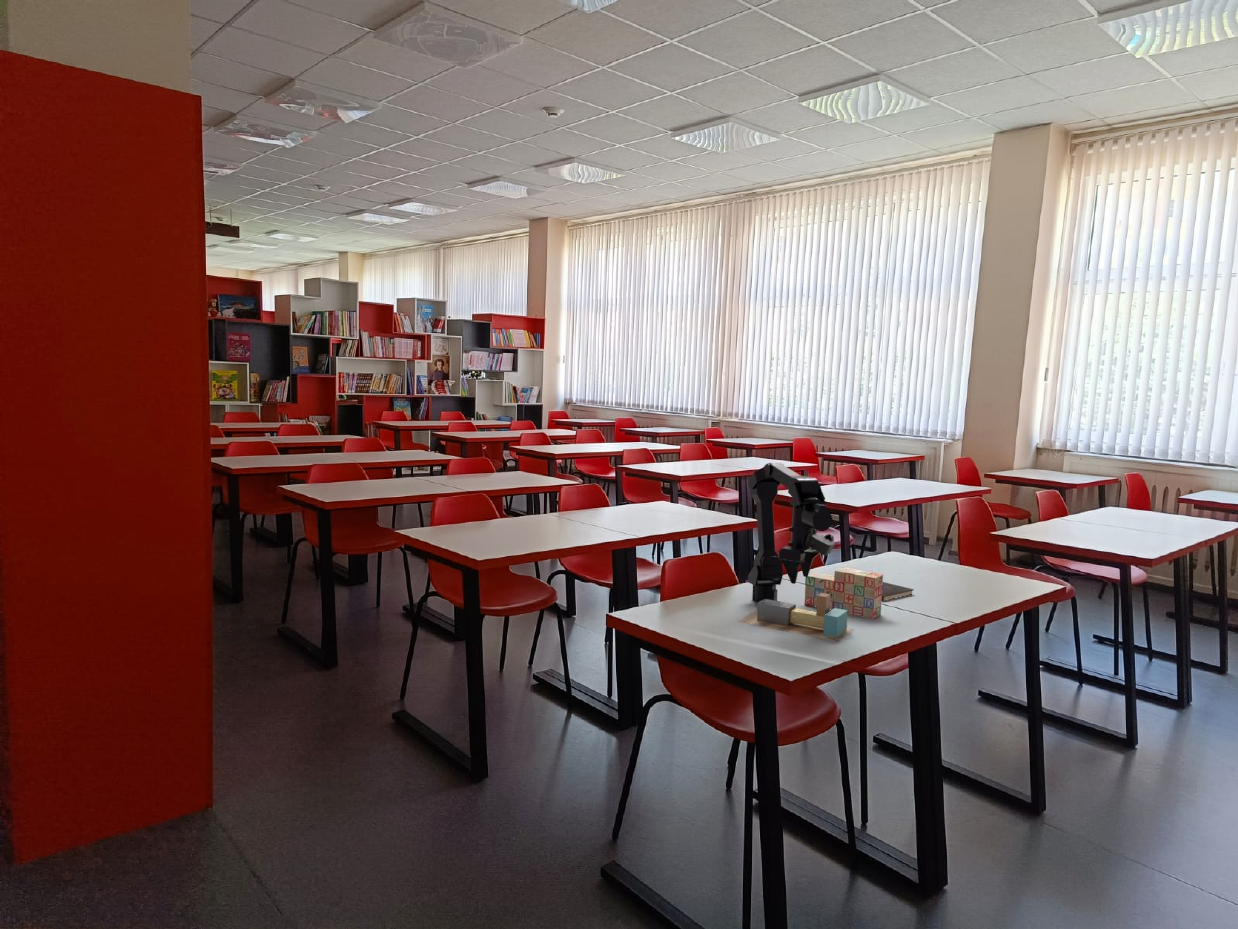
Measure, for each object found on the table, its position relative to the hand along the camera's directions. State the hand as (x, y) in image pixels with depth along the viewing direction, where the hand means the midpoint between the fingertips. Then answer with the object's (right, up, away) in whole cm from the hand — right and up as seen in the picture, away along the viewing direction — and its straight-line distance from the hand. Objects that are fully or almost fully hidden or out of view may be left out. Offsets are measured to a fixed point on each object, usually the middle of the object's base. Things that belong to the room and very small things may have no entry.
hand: (799, 580), depth 207 cm
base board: (-2, -13, -3) cm, 13 cm away
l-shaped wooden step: (0, -11, -4) cm, 12 cm away
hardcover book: (+32, -10, +42) cm, 54 cm away
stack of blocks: (+17, -12, +17) cm, 26 cm away
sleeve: (-6, -11, 0) cm, 13 cm away
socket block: (+7, -12, -9) cm, 17 cm away
